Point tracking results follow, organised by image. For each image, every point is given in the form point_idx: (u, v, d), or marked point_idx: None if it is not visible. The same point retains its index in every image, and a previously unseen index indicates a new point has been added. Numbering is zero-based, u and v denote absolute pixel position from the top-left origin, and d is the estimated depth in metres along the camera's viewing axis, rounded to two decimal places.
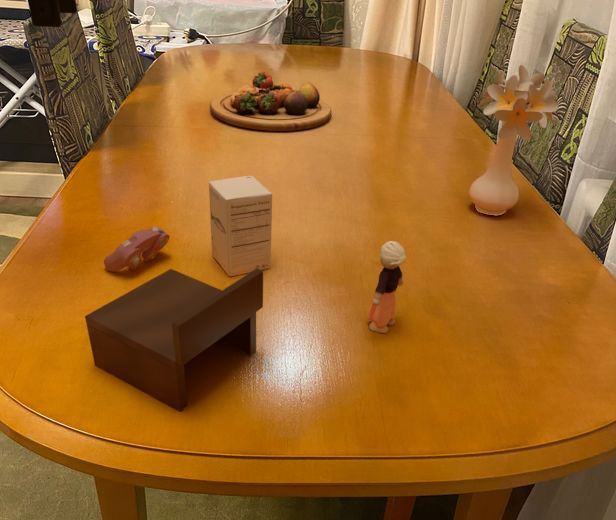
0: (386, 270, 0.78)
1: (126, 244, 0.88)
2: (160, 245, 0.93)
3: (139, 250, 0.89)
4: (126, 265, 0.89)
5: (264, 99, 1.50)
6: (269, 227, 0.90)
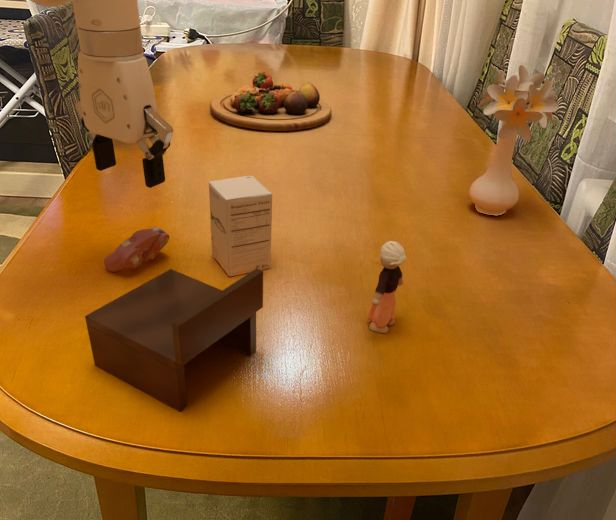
0: (386, 270, 0.78)
1: (126, 244, 0.88)
2: (160, 245, 0.93)
3: (139, 250, 0.89)
4: (126, 265, 0.89)
5: (264, 99, 1.50)
6: (269, 227, 0.90)
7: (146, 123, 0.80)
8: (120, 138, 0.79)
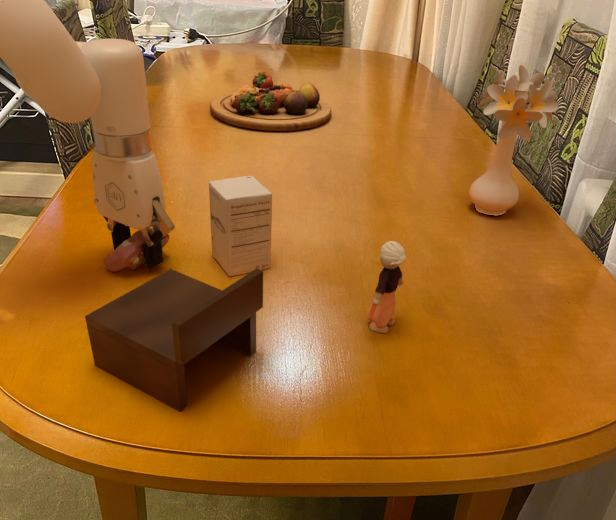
0: (386, 270, 0.78)
1: (126, 244, 0.88)
2: None
3: (139, 250, 0.89)
4: (126, 265, 0.89)
5: (264, 99, 1.50)
6: (269, 227, 0.90)
7: None
8: (130, 225, 0.86)
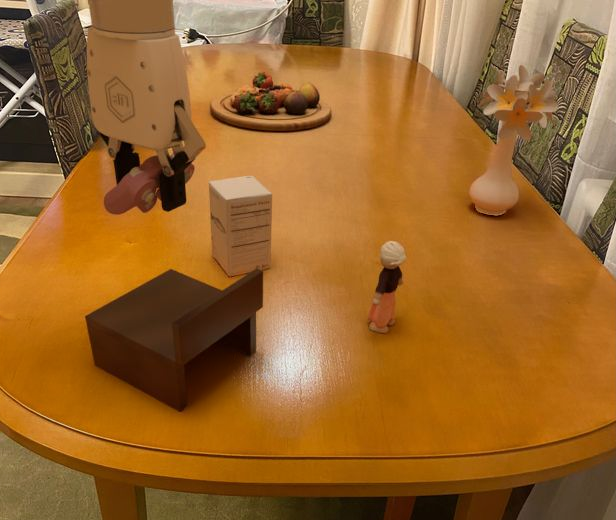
0: (386, 270, 0.78)
1: (136, 173, 0.62)
2: None
3: (154, 182, 0.63)
4: (135, 204, 0.63)
5: (264, 99, 1.50)
6: (269, 227, 0.90)
7: None
8: (141, 143, 0.60)
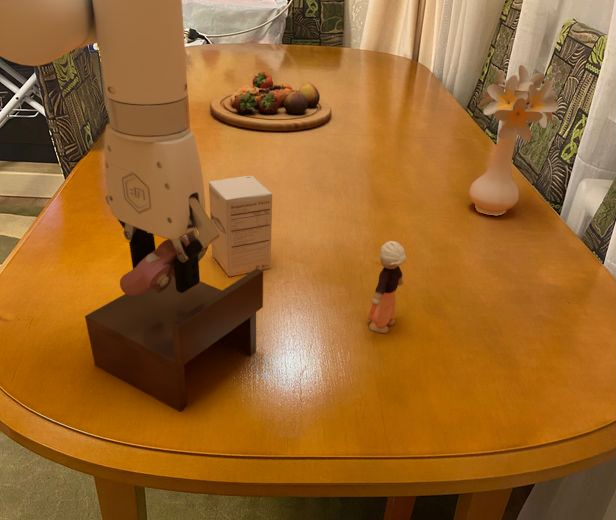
0: (386, 270, 0.78)
1: (151, 259, 0.63)
2: None
3: (169, 267, 0.64)
4: (151, 287, 0.65)
5: (264, 99, 1.50)
6: (269, 227, 0.90)
7: None
8: (157, 233, 0.61)
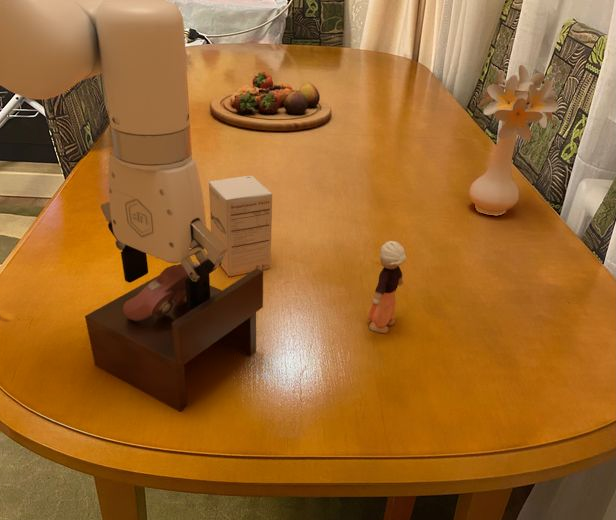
0: (386, 270, 0.78)
1: (154, 286, 0.66)
2: None
3: (171, 294, 0.66)
4: (153, 314, 0.67)
5: (264, 99, 1.50)
6: (269, 227, 0.90)
7: (191, 236, 0.64)
8: (159, 256, 0.63)
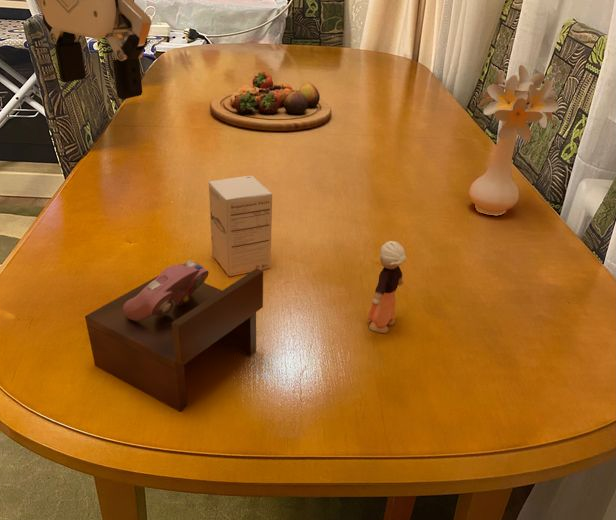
0: (386, 270, 0.78)
1: (154, 286, 0.66)
2: (197, 285, 0.71)
3: (171, 294, 0.66)
4: (153, 314, 0.67)
5: (264, 99, 1.50)
6: (269, 227, 0.90)
7: (119, 16, 0.65)
8: (85, 31, 0.63)
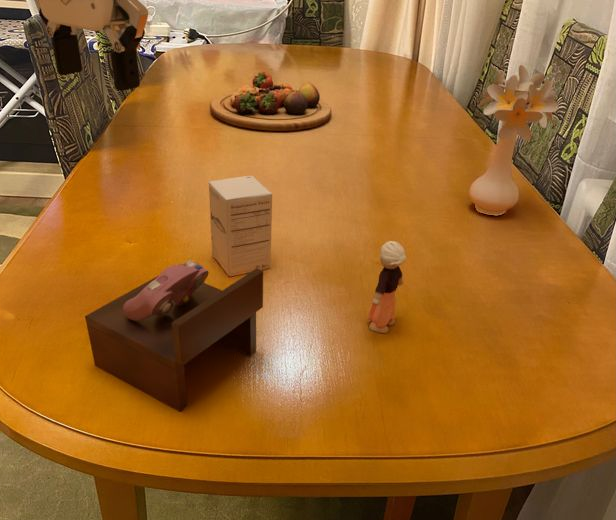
0: (386, 270, 0.78)
1: (154, 286, 0.66)
2: (197, 285, 0.71)
3: (171, 294, 0.66)
4: (153, 314, 0.67)
5: (264, 99, 1.50)
6: (269, 227, 0.90)
7: (116, 8, 0.65)
8: (83, 24, 0.64)
